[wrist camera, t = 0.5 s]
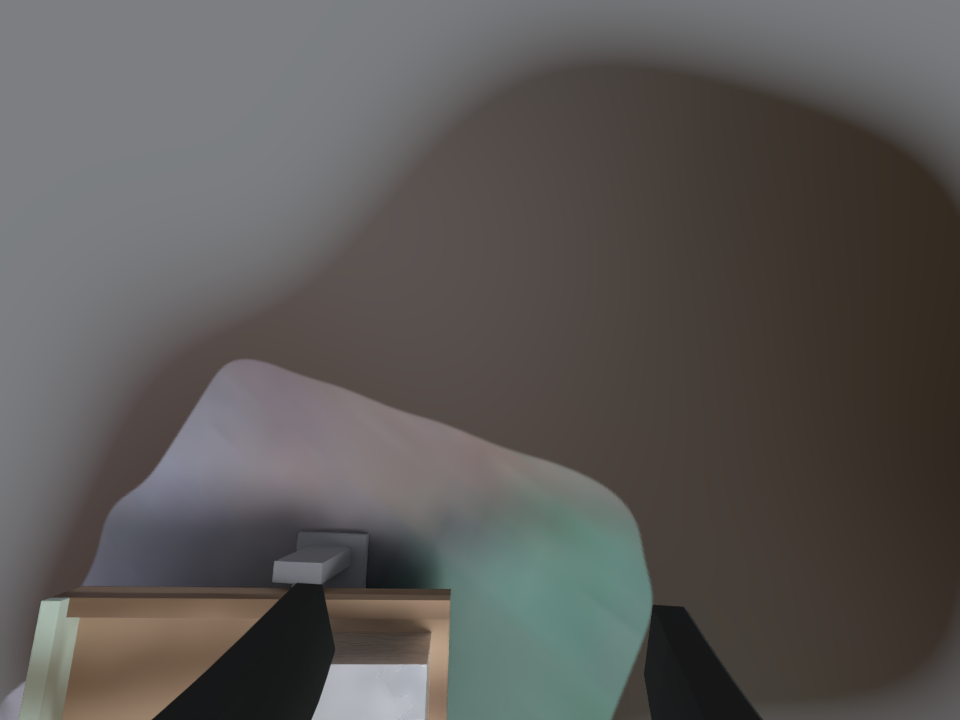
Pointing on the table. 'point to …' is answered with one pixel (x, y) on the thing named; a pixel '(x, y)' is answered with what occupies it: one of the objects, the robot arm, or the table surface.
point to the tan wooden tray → (189, 642)
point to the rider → (377, 677)
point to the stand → (325, 560)
